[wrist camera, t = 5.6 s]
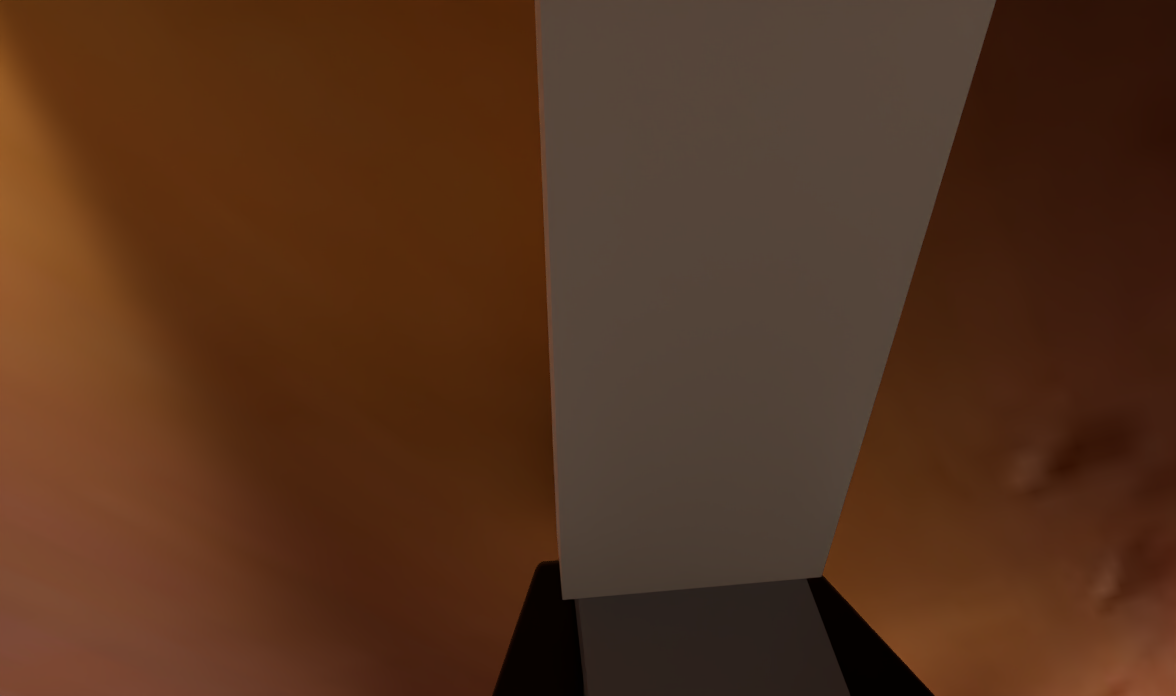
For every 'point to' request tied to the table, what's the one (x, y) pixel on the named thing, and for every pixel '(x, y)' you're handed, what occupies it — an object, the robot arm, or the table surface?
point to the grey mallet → (727, 309)
